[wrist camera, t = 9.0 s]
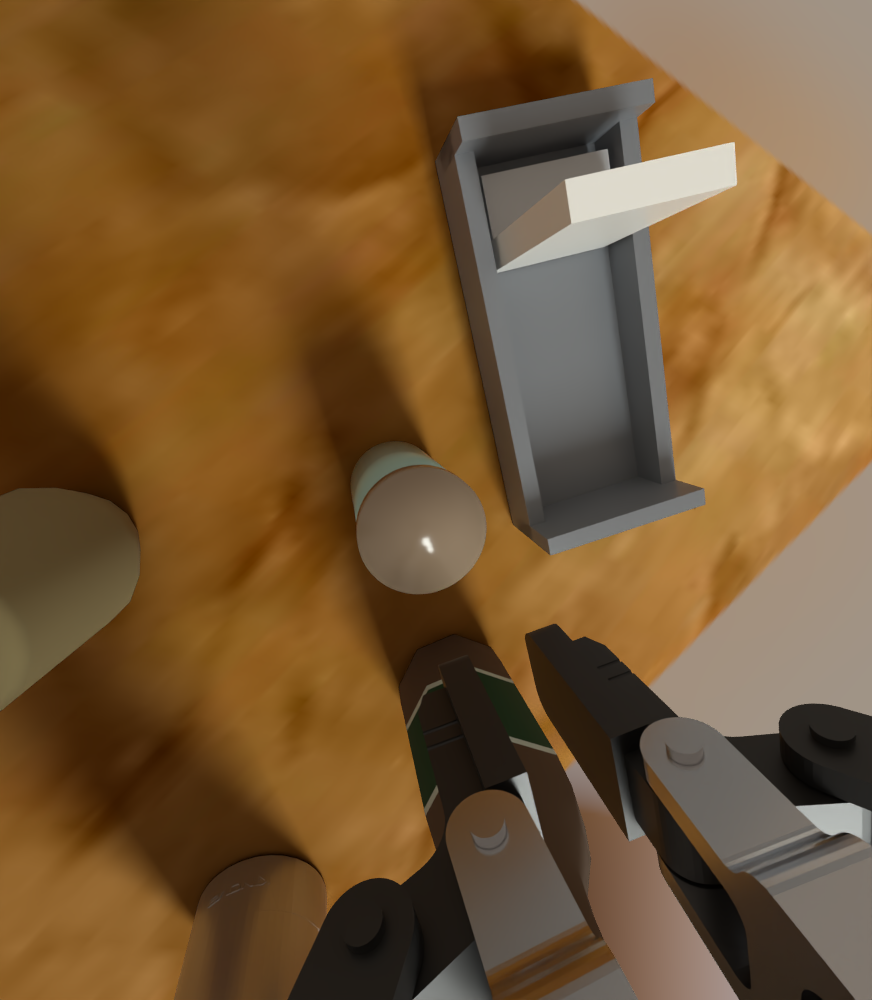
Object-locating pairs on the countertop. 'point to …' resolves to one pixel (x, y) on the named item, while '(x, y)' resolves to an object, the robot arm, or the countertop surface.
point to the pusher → (593, 201)
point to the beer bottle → (531, 744)
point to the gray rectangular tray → (566, 333)
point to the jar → (414, 519)
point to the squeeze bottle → (58, 578)
